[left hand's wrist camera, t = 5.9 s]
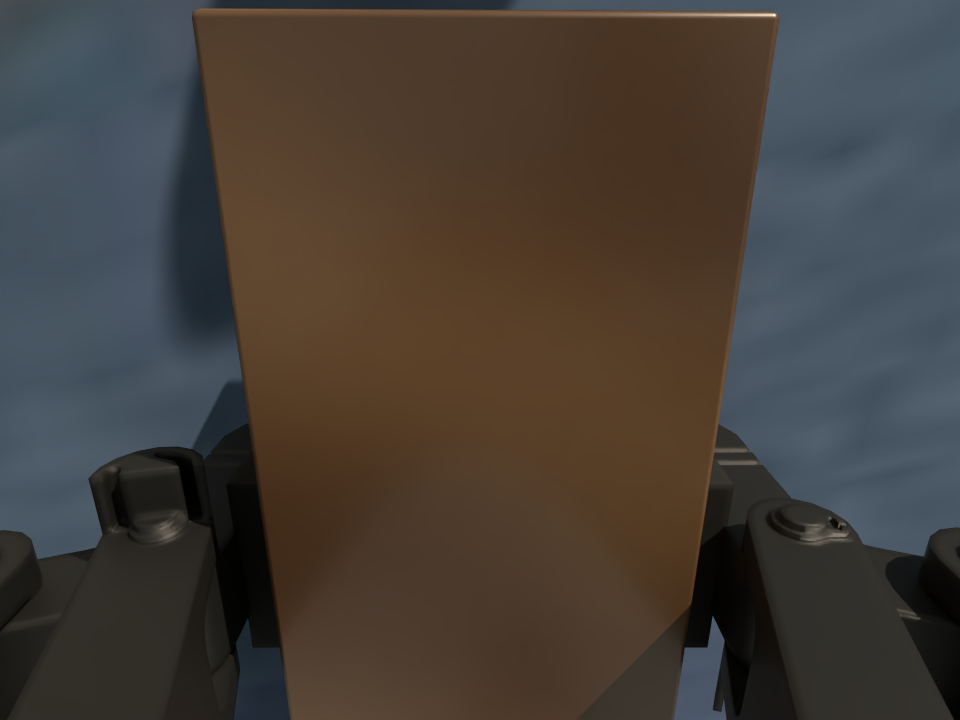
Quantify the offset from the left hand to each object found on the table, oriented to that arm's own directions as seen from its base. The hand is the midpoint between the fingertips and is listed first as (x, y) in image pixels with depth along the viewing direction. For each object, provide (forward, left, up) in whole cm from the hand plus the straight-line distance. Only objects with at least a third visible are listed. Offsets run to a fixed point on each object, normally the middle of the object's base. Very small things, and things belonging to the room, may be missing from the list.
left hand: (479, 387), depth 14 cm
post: (+7, +21, -1) cm, 22 cm away
